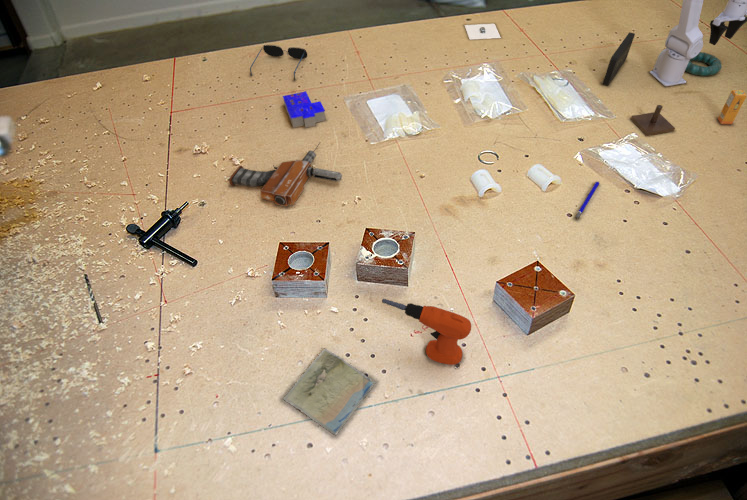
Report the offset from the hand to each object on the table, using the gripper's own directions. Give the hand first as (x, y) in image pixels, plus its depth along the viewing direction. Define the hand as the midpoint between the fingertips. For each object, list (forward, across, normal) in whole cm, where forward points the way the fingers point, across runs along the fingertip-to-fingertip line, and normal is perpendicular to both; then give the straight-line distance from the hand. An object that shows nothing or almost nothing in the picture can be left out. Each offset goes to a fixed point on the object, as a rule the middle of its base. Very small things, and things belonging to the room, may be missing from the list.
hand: (720, 40), depth 177 cm
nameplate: (+8, -32, +13) cm, 35 cm away
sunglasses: (+7, -131, +77) cm, 152 cm away
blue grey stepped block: (+7, -135, +45) cm, 142 cm away
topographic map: (+7, -169, -47) cm, 176 cm away
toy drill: (+7, -148, -48) cm, 155 cm away
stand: (+8, -45, -16) cm, 48 cm away
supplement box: (+8, -25, -25) cm, 36 cm away
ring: (+7, -5, 0) cm, 9 cm away
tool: (+7, -149, +19) cm, 151 cm away
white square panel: (+8, -52, +61) cm, 81 cm away
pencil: (+8, -86, -31) cm, 91 cm away
